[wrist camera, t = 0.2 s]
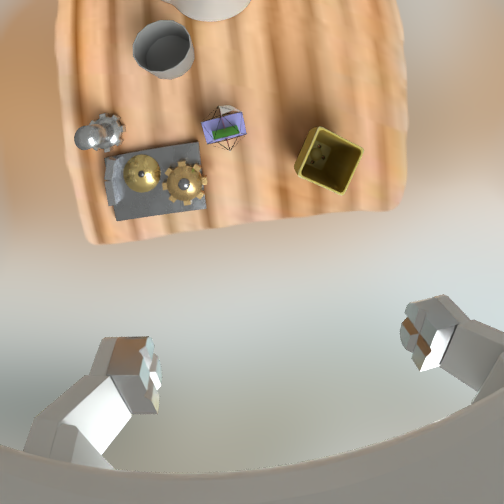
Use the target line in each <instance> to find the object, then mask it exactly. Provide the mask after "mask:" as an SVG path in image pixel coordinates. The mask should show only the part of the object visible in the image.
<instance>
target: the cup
mask: <svg viewBox="0 0 504 504" xmlns="http://www.w3.org/2000/svg"><path fill="white" fill-rule="evenodd" d="M133 57H134V58H135V60H136V62H137V63H138V65H139V66H140V67H142V68H143V69H145V70H147V71H148V72H150V73H151V74H153V75H155V76H157V77H158V78H160V79H174V78H177V77H180V76H182V75H183V74H185V73H186V72H187V71H188V70H189V69H190V68H191V65H192V63H193V61H194V48H193V44H192V41H191V37H190V35H189V33H188V32H187V30H186V29H185V27H184V26H183V25H181V24H179V23H177V22H175V21H172V20H159V21H156V22H154V23H151V24H148V25H147V26H146V27H145V28H144V29H142V30H141V31H140V32H139V33H138V35H137V37H136V39H135V41H134V43H133Z"/></svg>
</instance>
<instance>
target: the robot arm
mask: <svg viewBox="0 0 504 504" xmlns="http://www.w3.org/2000/svg"><path fill="white" fill-rule="evenodd" d="M162 1H164V2H167V3H170V4H172V5H174V6H175V7H176V8H177V9H178V10H179V11H180V12H181V13H183V14H184V15H186V16H187V17H190V18H192V19H195V20H199V21H208V22H212V21H221V20H225V19H228V18H231V17H233V16H235V15H237V14H238V13H240V12H241V11H243V10H244V9H245V8H246V7H247V6H248V4H249V3H250V2H251V0H162ZM405 314H406V316H407V318H406V319H405V320H404V321H403V322H402V324H401V329H400V338H401V341H402V344H403V346H404V347H405V349H406V350H408V351H410V352H412V359H413V361H414V363H415V364H416V366H417V367H418V369H419V371H424V370H427V369H430V368H433V367H437V366H440V367H441V368H442V369H444V370H445V371H447V372H448V373H450V374H451V375H453V376H454V377H456V378H458V379H459V380H461V381H462V382H463V383H465V384H466V385H468V386H470V387H471V388H473V389H474V390H475V391H477V392H478V393H477V394H476V396H475V397H474V399H473V400H472V403H471V405H469V406H467V407H465V408H463V409H461V410H459V411H457V412H455V413H453V414H451V415H449V416H446V417H444V418H442V419H440V420H437V421H435V422H433V423H430V424H428V425H425V426H423V427H420V428H418V429H415V430H413V431H410V432H407V433H405V434H402V435H399V436H396V437H393V438H390V439H387V440H384V441H382V442H378V443H375V444H372V445H368V446H365V447H361V448H358V449H354V450H351V451H347V452H343V453H339V454H335V455H331V456H326V457H323V458H318V459H313V460H308V461H302V462H297V463H291V464H285V465H279V466H272V467H265V468H257V469H248V470H237V471H224V472H204V473H160V472H140V471H126V470H117V469H114V468H113V467H112V465H111V464H110V463H109V462H108V461H107V460H106V459H105V458H104V457H103V456H102V455H101V454H102V453H103V452H104V451H105V450H106V448H107V447H108V446H109V445H110V443H111V442H112V441H113V439H114V438H115V437H116V436H117V434H118V433H119V432H120V430H121V429H122V428H123V427H124V425H125V424H126V423H127V422H128V420H129V419H130V418H131V416H132V415H131V414H158V409H159V401H160V400H159V399H160V396H159V393H158V391H157V389H158V388H159V387H160V386H161V383H162V369H161V364H160V360H159V358H158V356H157V355H155V354H154V353H153V352H154V343H153V341H152V338H151V337H149V336H147V337H105V338H104V339H102V340H101V343H100V345H99V348H98V351H97V354H96V356H95V359H94V362H93V365H92V368H91V371H90V373H89V375H85V376H84V377H82V378H81V379H80V380H79V381H78V382H76V383H75V384H74V385H73V386H71V387H70V388H69V389H68V390H67V391H66V392H64V393H63V394H62V395H61V396H60V397H58V398H57V399H56V400H55V401H54V402H53V403H51V404H50V405H49V406H48V407H47V408H45V409H44V410H43V411H42V412H41V413H40V414H38V415H37V416H36V417H35V418H34V421H33V424H32V426H31V429H30V432H29V435H28V438H27V441H26V444H25V447H24V450H23V451H19V450H16V449H13V448H9V447H6V446H3V445H0V504H504V332H502V331H499V330H497V329H495V328H492V327H490V326H488V325H485V324H483V323H481V322H478V321H476V320H470V319H469V318H468V317H467V316H466V315H465V314H464V313H463V312H462V310H461V309H460V308H459V307H458V306H457V305H456V304H455V303H454V302H453V301H452V300H451V299H450V298H449V297H448V296H446V295H444V294H443V295H439V296H435V297H432V298H428V299H425V300H420V301H415V302H410V303H409V304H408V305H407V307H406V310H405Z"/></svg>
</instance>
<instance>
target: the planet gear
mask: <svg viewBox="0 0 504 504" xmlns="http://www.w3.org/2000/svg"><path fill="white" fill-rule="evenodd" d="M99 116H100V119H98V120H92V121H91V123H90V124H89V125H87V126H82V127H80V128H79V129H78V130H77V131H76V133H75V137H74V141H75V144H76V146H77V147H78V148H79V149H81V150H87V149H90V148H93V149H94V150H96V151H98V150H100V149H104V152H110V151H112V150H113V146H114V145H117V146H119V145H121V144H122V142H123V141H124V140H123V139H122V138H121V137H122V132H125V131H126V127H125V125H124V126H121V123H120V122H119V120H120V119H121V118H120V117H119V116H118V115H113V116H112V117H109V115H108V113H104V114H100V115H99Z"/></svg>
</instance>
